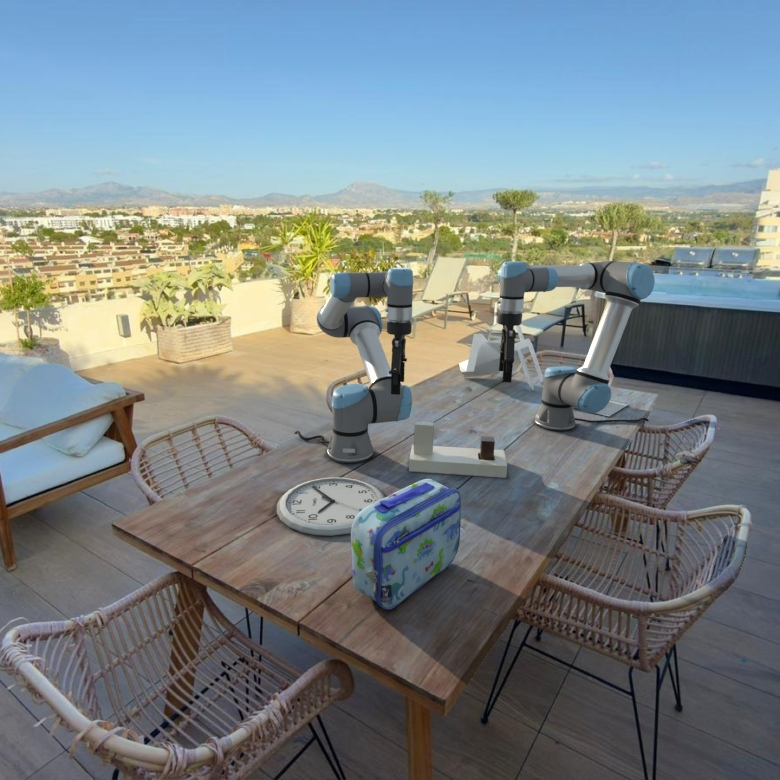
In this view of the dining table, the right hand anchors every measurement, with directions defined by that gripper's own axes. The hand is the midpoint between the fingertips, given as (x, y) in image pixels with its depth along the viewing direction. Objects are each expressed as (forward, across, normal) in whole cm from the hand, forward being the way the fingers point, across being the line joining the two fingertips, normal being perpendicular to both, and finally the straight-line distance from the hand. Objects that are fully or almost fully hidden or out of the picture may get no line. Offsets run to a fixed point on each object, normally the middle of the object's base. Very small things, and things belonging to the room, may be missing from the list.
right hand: (504, 376), depth 171 cm
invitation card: (+27, -55, +48) cm, 78 cm away
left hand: (+2, +12, -34) cm, 36 cm away
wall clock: (+27, +44, -48) cm, 70 cm away
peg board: (+27, +14, -14) cm, 33 cm away
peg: (+27, +14, -5) cm, 30 cm away
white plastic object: (+27, -82, +6) cm, 86 cm away
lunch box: (+27, +73, -25) cm, 82 cm away
